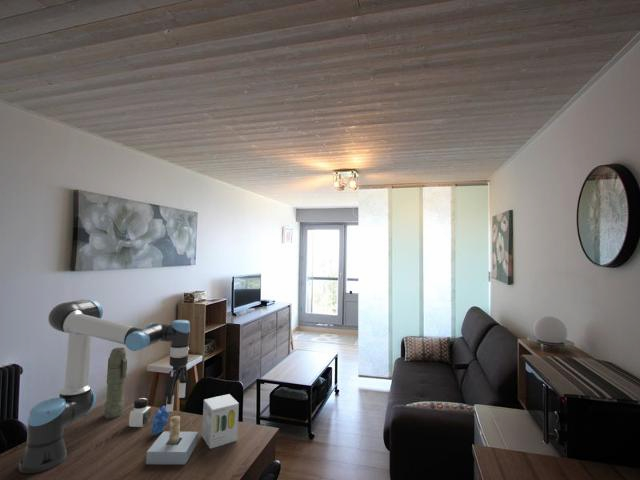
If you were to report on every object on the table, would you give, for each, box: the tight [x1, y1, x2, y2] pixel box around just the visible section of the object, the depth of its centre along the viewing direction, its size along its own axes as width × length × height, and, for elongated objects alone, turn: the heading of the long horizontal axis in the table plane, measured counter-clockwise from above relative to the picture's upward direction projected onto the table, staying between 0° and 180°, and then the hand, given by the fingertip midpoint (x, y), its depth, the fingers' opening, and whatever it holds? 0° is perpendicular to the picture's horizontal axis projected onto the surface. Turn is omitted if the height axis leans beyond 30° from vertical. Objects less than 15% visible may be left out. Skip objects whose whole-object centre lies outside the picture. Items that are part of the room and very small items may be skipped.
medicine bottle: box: [128, 397, 152, 428], centre depth 168 cm, size 7×7×12 cm
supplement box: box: [201, 393, 240, 450], centre depth 157 cm, size 13×13×18 cm
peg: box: [169, 415, 181, 445], centre depth 144 cm, size 4×4×14 cm
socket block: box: [145, 430, 199, 465], centre depth 144 cm, size 16×16×5 cm
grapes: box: [150, 405, 171, 436], centre depth 160 cm, size 12×7×12 cm, turn 169°
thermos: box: [103, 347, 128, 420], centre depth 176 cm, size 9×12×35 cm
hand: (175, 404), depth 145 cm, fingers open, 13 cm apart
